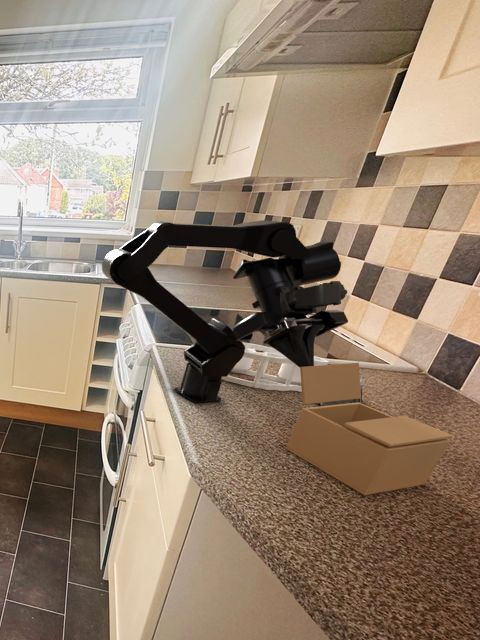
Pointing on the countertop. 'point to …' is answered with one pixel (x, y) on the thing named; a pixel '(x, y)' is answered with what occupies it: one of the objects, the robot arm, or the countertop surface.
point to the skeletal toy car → (287, 371)
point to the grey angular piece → (344, 400)
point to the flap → (330, 383)
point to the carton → (367, 446)
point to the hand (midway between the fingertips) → (309, 370)
